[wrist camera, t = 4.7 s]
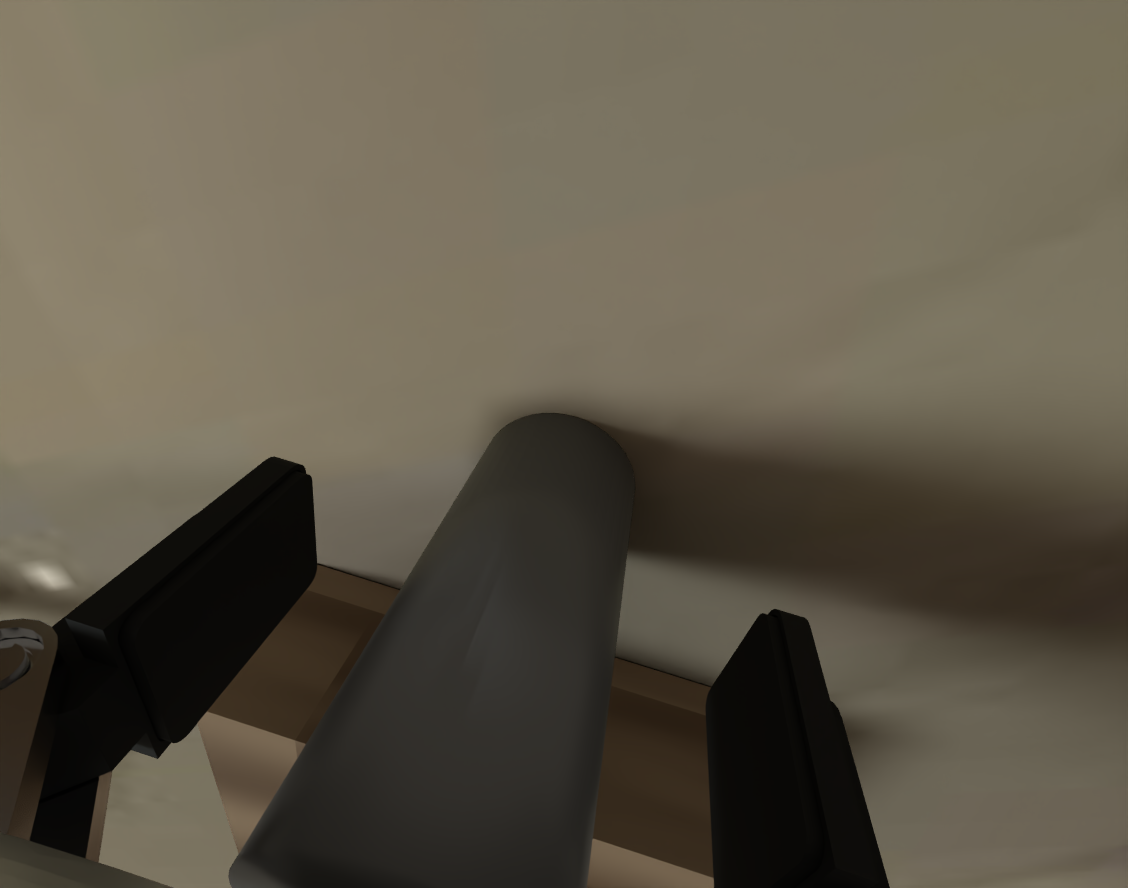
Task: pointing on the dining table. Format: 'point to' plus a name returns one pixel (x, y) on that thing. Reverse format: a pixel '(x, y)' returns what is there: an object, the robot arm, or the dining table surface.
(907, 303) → the dining table surface
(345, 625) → the socket block
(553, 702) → the plug
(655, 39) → the dining table surface
